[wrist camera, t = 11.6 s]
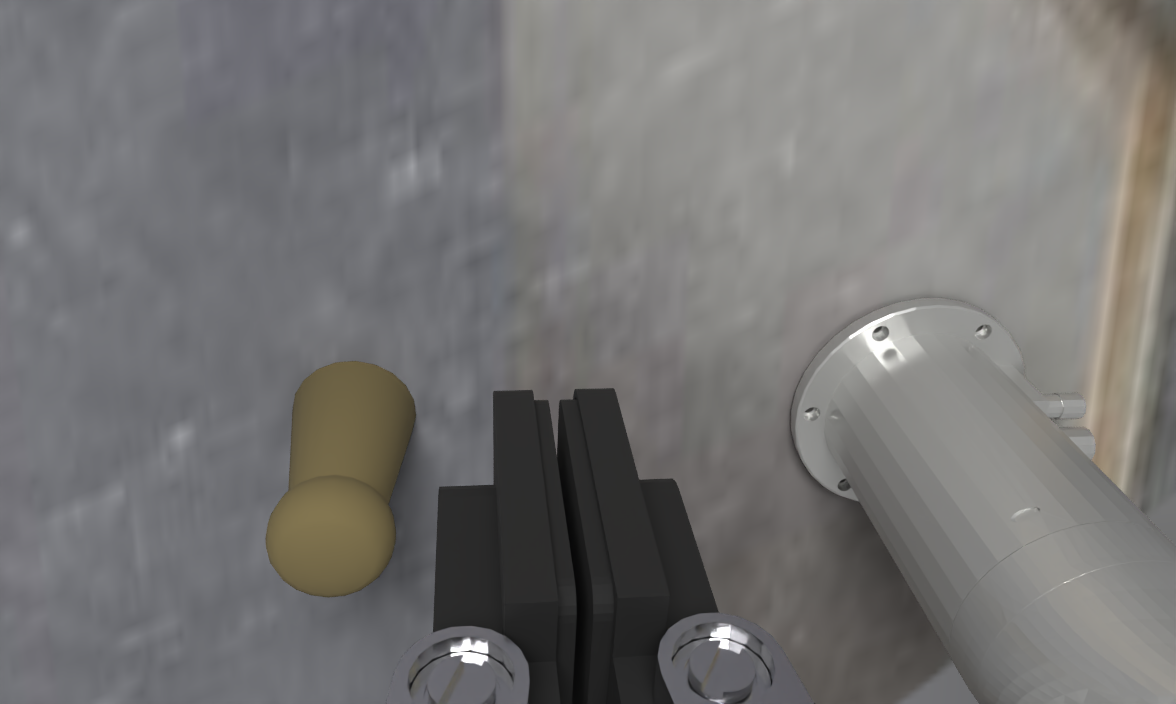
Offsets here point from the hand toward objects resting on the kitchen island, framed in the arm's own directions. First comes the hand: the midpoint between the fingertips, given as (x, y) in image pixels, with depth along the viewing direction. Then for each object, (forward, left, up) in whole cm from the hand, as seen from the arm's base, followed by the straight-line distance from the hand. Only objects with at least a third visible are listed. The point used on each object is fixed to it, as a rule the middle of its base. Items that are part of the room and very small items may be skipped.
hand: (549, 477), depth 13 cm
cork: (+7, +18, -29) cm, 35 cm away
